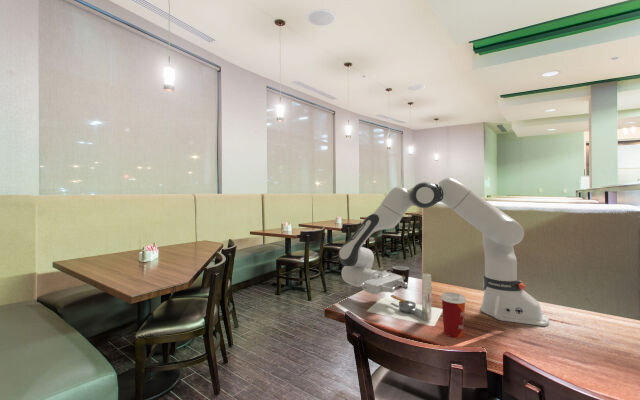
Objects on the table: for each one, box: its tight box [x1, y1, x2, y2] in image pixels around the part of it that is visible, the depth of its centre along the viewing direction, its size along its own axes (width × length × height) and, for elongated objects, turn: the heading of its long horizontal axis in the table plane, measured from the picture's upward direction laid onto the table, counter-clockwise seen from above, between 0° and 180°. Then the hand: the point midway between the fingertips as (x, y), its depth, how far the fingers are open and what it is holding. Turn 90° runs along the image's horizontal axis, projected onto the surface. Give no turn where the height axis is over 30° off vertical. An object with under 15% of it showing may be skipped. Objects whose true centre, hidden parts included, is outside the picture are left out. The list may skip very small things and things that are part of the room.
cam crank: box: [390, 273, 432, 320], centre depth 115 cm, size 21×6×17 cm, turn 27°
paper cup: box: [440, 291, 467, 339], centre depth 97 cm, size 8×8×14 cm
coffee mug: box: [386, 265, 410, 290], centre depth 152 cm, size 12×9×10 cm
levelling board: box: [366, 297, 443, 327], centre depth 117 cm, size 26×19×2 cm
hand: (400, 287), depth 115 cm, fingers open, 8 cm apart
